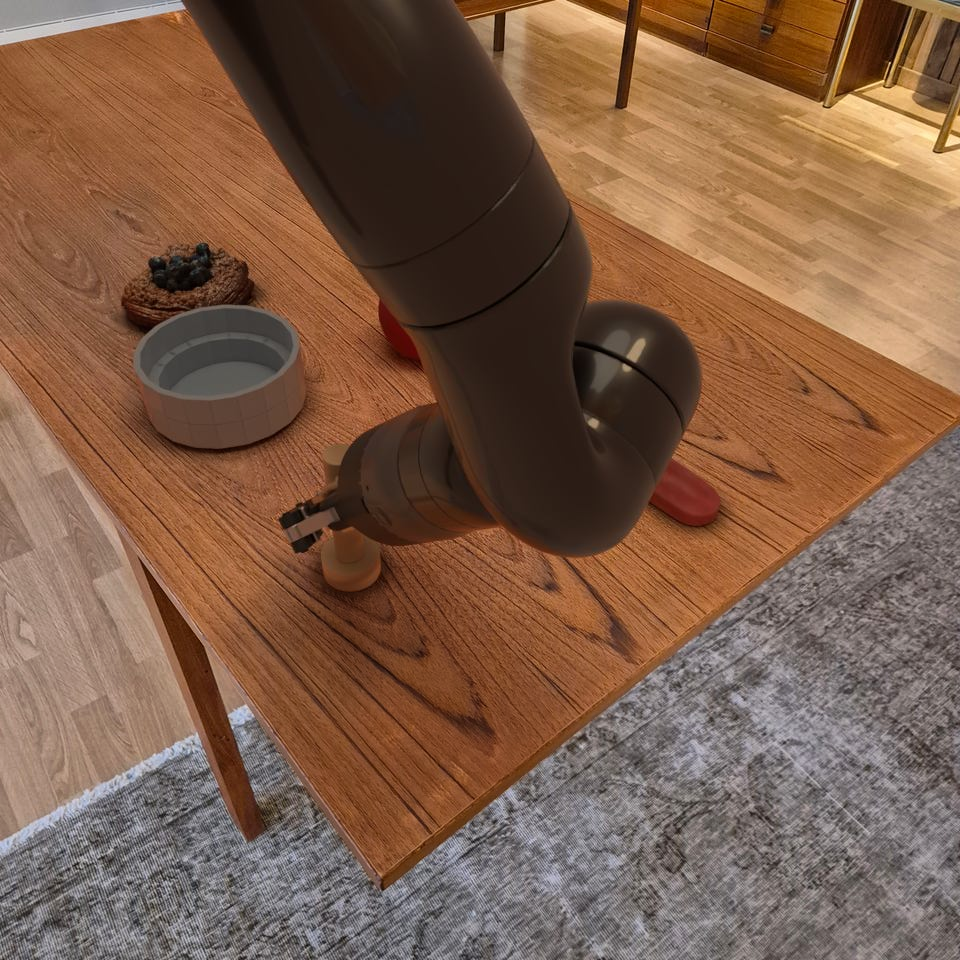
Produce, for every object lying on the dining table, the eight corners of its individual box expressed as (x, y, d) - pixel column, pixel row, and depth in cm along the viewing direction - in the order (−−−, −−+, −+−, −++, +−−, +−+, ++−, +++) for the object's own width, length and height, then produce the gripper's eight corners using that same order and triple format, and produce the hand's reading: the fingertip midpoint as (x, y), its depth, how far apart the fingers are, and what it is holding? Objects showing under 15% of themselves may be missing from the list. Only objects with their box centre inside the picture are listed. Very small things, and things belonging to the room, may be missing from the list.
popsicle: (597, 405, 80) (733, 496, 73) (594, 420, 82) (728, 510, 74) (562, 427, 78) (699, 522, 70) (560, 441, 79) (694, 537, 72)
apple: (454, 381, 85) (455, 291, 78) (366, 364, 87) (359, 274, 80) (480, 329, 92) (483, 241, 85) (398, 314, 93) (393, 227, 87)
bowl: (182, 475, 75) (166, 420, 71) (128, 387, 84) (111, 333, 79) (333, 418, 81) (326, 364, 77) (268, 341, 89) (259, 289, 85)
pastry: (267, 287, 97) (259, 238, 93) (210, 348, 88) (199, 297, 84) (177, 269, 99) (165, 220, 95) (114, 327, 91) (98, 276, 86)
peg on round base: (339, 600, 66) (323, 485, 58) (313, 562, 69) (294, 446, 60) (391, 576, 68) (382, 460, 59) (363, 540, 70) (352, 424, 62)
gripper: (491, 371, 53) (385, 422, 68) (287, 467, 47) (221, 499, 62) (543, 483, 54) (428, 509, 69) (350, 593, 48) (269, 595, 63)
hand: (330, 504), depth 66 cm, fingers closed on peg on round base, 2 cm apart
